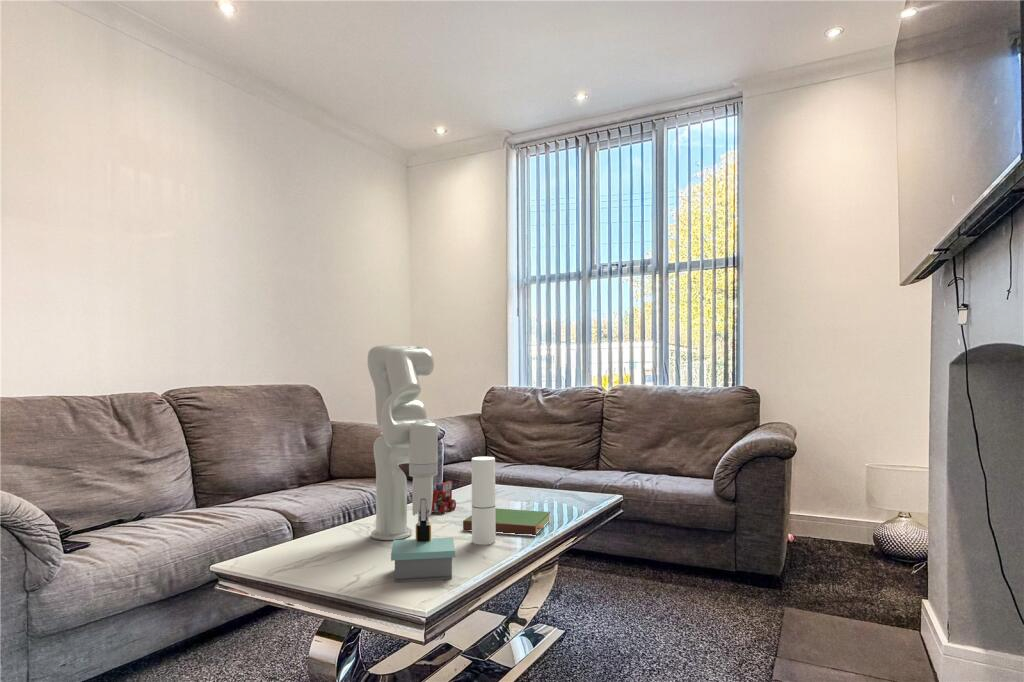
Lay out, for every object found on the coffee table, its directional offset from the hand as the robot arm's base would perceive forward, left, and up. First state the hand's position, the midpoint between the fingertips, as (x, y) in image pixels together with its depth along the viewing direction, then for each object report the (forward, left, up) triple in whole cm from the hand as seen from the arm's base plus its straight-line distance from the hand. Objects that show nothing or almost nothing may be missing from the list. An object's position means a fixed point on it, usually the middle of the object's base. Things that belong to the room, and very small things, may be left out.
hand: (423, 539), depth 155 cm
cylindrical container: (-20, +18, -8) cm, 28 cm away
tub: (+5, 0, -7) cm, 9 cm away
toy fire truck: (-61, +7, -8) cm, 62 cm away
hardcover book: (-36, +28, -8) cm, 47 cm away
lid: (+5, 0, -1) cm, 5 cm away
